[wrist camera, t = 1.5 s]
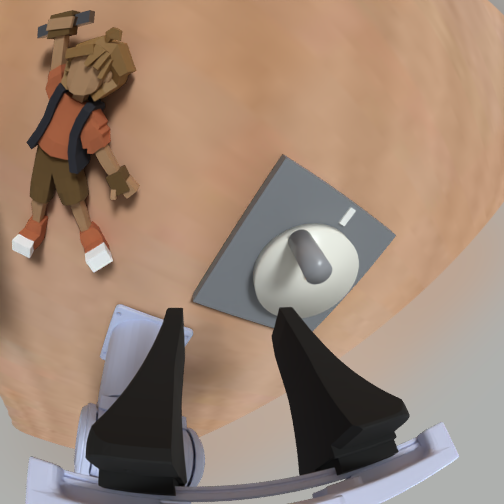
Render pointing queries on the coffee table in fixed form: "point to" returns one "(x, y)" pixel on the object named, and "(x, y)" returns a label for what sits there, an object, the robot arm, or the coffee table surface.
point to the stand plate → (274, 223)
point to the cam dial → (305, 270)
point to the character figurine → (76, 131)
